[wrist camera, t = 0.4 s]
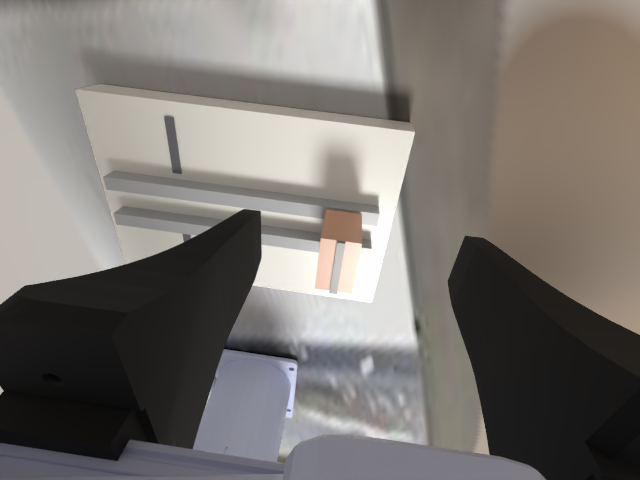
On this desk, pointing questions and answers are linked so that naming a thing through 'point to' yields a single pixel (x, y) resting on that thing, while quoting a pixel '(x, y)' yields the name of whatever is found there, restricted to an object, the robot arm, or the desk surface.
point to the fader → (339, 251)
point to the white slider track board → (245, 176)
